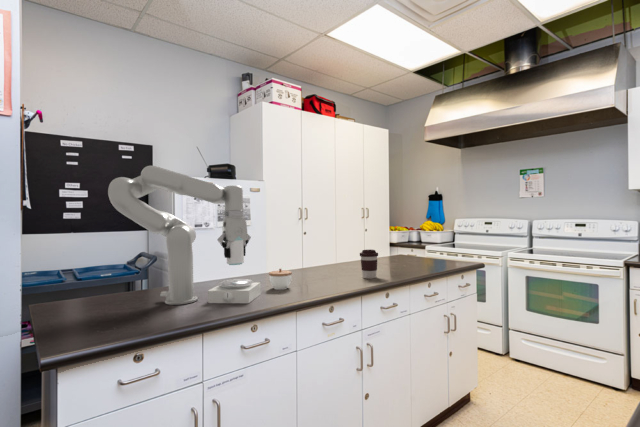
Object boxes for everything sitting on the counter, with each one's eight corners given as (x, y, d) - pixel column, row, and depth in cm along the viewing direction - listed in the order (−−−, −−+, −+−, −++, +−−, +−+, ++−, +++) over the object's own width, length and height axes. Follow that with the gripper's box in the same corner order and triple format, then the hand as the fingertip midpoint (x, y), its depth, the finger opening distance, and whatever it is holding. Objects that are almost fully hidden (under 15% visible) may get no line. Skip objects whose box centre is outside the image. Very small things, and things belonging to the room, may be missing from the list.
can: (243, 264, 146) (243, 236, 146) (226, 265, 145) (225, 236, 145) (243, 262, 153) (243, 235, 153) (227, 263, 152) (226, 235, 152)
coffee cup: (380, 279, 185) (379, 250, 186) (361, 279, 186) (360, 251, 186) (377, 275, 195) (376, 249, 195) (359, 276, 195) (358, 249, 196)
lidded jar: (265, 289, 164) (264, 269, 164) (276, 285, 174) (276, 266, 174) (285, 291, 160) (285, 270, 160) (295, 287, 170) (295, 267, 170)
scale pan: (212, 287, 142) (212, 285, 142) (225, 281, 156) (225, 278, 156) (246, 287, 141) (246, 285, 141) (256, 281, 155) (256, 278, 155)
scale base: (207, 303, 140) (207, 291, 140) (223, 293, 158) (223, 282, 158) (248, 303, 139) (248, 291, 139) (260, 293, 156) (260, 282, 156)
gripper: (221, 215, 140) (222, 259, 140) (255, 214, 153) (257, 255, 153) (211, 215, 145) (212, 258, 145) (245, 214, 158) (246, 254, 158)
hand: (235, 256), depth 149 cm, fingers closed on can, 7 cm apart
